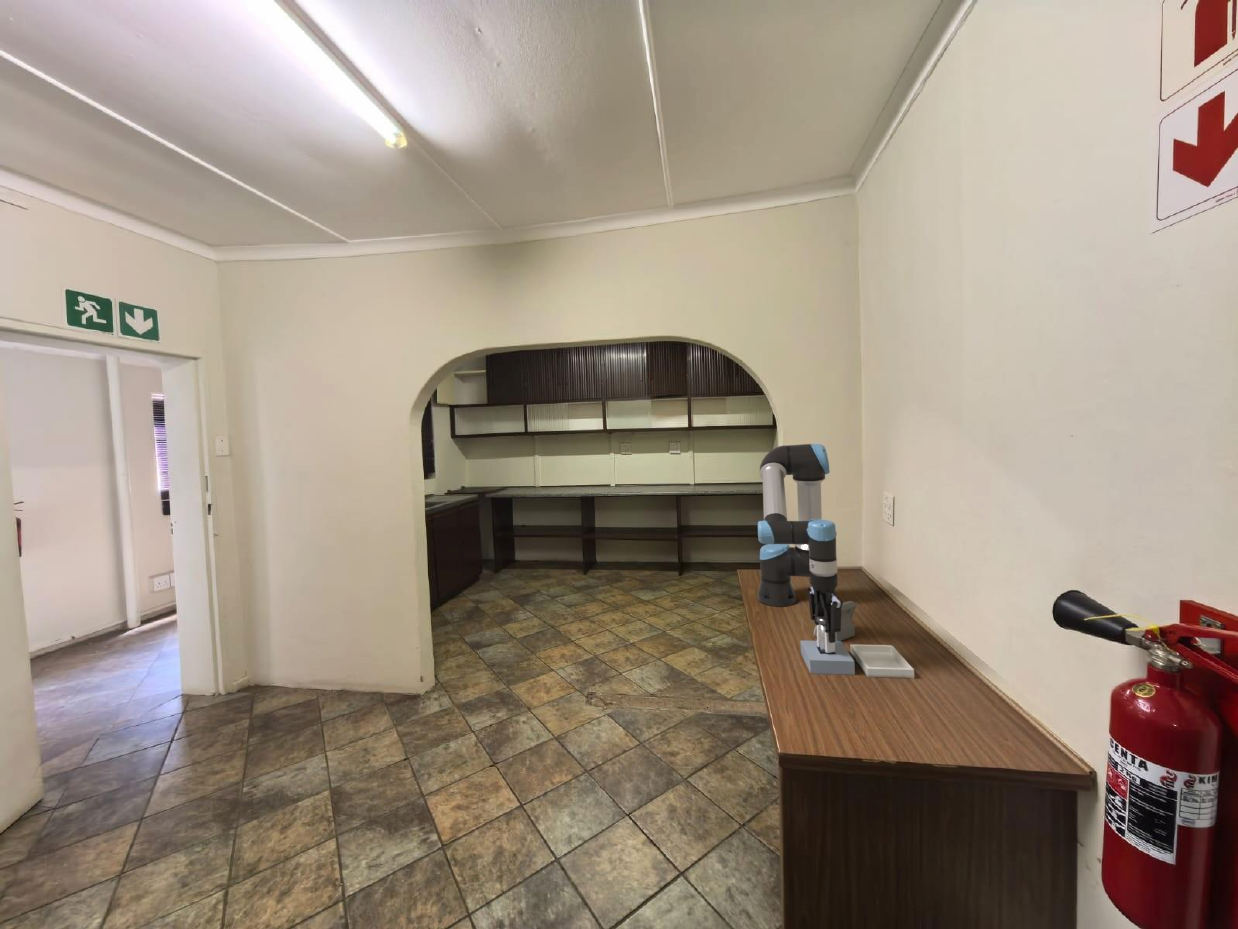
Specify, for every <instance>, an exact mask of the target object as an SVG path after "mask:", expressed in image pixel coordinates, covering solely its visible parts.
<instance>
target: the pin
mask: <svg viewBox="0 0 1238 929" xmlns="http://www.w3.org/2000/svg"><path fill="white" fill-rule="evenodd" d="M817 622H818V623H819V638H820V654H832V652H830V653H826V652H825V630H827V629H826V621H825V615H820V616H817Z"/></svg>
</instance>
